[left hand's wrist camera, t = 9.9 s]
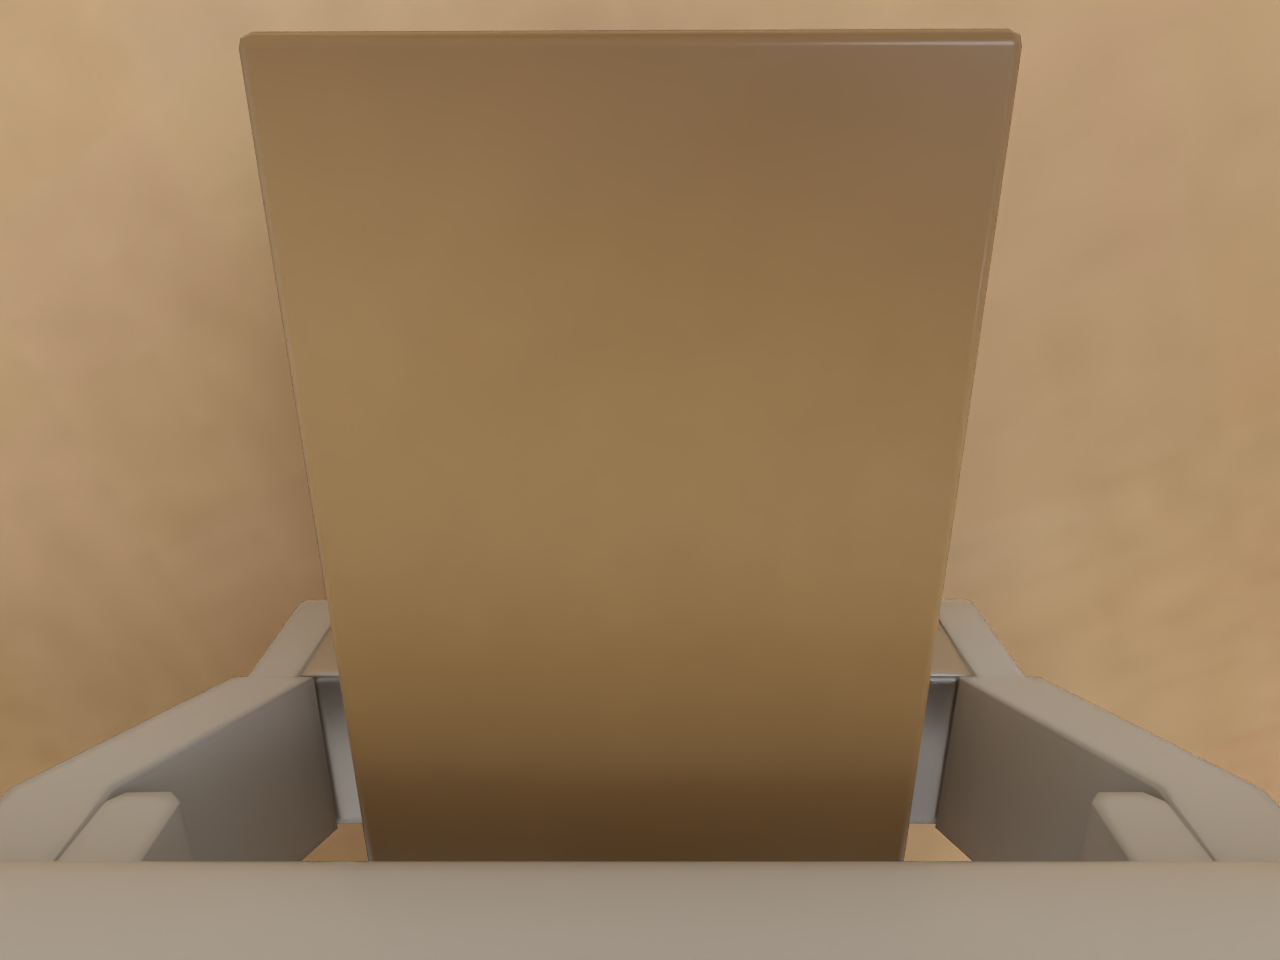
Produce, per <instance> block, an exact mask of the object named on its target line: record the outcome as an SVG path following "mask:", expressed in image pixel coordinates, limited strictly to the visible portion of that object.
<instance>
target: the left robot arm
mask: <svg viewBox="0 0 1280 960" xmlns="http://www.w3.org/2000/svg"><path fill="white" fill-rule="evenodd" d="M348 823H362V818H361V811H360V805H359V799H358V793H357V786H356V780H355V774H354V767H353V761H352V755H351V749H350V742H349V736H348V730H347V724H346V717H345V711H344V705H343V698H342V692H341V686H340V680H339V673H338V667H337V661H336V655H335V648H334V642H333V636H332V629H331V623H330V617H329V611H328V604H327V600H308V601H303V602H302V603H301V604H300V605H299V606H298V607H297V609H296V610H295V612H294V613H293V614H292V616H291V617H290V619H289V620H288V621H287V623H286V624H285V626H284V627H283V628H282V630H281V631H280V633H279V634H278V635H277V637H276V638H275V639H274V641H273V642H272V644H271V645H270V646H269V648H268V649H267V651H266V652H265V653H264V655H263V656H262V658H261V659H260V660H259V662H258V663H257V665H256V666H255V667H254V669H253V670H252V672H251V673H250V674H249V676H248V677H233V678H231V679H229V680H227V681H225V682H223V683H221V684H219V685H217V686H214V687H212V688H210V689H208V690H206V691H204V692H202V693H200V694H198V695H196V696H194V697H192V698H190V699H188V700H186V701H184V702H182V703H180V704H178V705H176V706H174V707H172V708H170V709H168V710H166V711H164V712H162V713H160V714H158V715H156V716H154V717H152V718H150V719H148V720H146V721H144V722H142V723H140V724H138V725H136V726H134V727H132V728H130V729H128V730H126V731H124V732H122V733H120V734H118V735H116V736H114V737H112V738H110V739H108V740H106V741H104V742H102V743H100V744H98V745H96V746H94V747H92V748H90V749H88V750H86V751H84V752H82V753H80V754H78V755H76V756H74V757H72V758H70V759H68V760H66V761H64V762H62V763H60V764H58V765H56V766H54V767H52V768H50V769H48V770H46V771H44V772H41V773H39V774H37V775H35V776H33V777H31V778H29V779H27V780H25V781H23V782H21V783H19V784H17V785H15V786H13V787H11V788H9V789H8V790H7V791H6V792H5V793H4V794H3V796H2V797H1V798H0V960H1280V807H1279V806H1278V805H1277V803H1276V802H1275V801H1274V800H1273V799H1272V798H1271V797H1270V796H1269V795H1268V794H1267V793H1266V792H1265V791H1264V790H1263V789H1261V788H1259V787H1257V786H1255V785H1253V784H1251V783H1249V782H1247V781H1245V780H1243V779H1241V778H1239V777H1237V776H1235V775H1233V774H1231V773H1229V772H1227V771H1225V770H1223V769H1221V768H1219V767H1217V766H1215V765H1213V764H1211V763H1209V762H1207V761H1205V760H1203V759H1201V758H1199V757H1197V756H1195V755H1193V754H1191V753H1189V752H1187V751H1186V750H1184V749H1182V748H1180V747H1178V746H1176V745H1174V744H1172V743H1170V742H1168V741H1166V740H1164V739H1162V738H1160V737H1158V736H1156V735H1154V734H1152V733H1150V732H1148V731H1146V730H1144V729H1142V728H1140V727H1138V726H1136V725H1134V724H1132V723H1130V722H1128V721H1126V720H1124V719H1122V718H1120V717H1118V716H1116V715H1114V714H1112V713H1110V712H1108V711H1106V710H1104V709H1102V708H1100V707H1098V706H1096V705H1094V704H1092V703H1090V702H1088V701H1086V700H1084V699H1082V698H1080V697H1078V696H1076V695H1074V694H1072V693H1070V692H1068V691H1066V690H1064V689H1062V688H1060V687H1058V686H1056V685H1054V684H1052V683H1050V682H1048V681H1046V680H1044V679H1042V678H1040V677H1025V676H1024V674H1023V673H1022V672H1021V670H1020V669H1019V667H1018V666H1017V665H1016V663H1015V662H1014V660H1013V659H1012V658H1011V656H1010V655H1009V653H1008V652H1007V651H1006V649H1005V648H1004V646H1003V645H1002V644H1001V642H1000V641H999V639H998V638H997V637H996V635H995V634H994V632H993V631H992V630H991V628H990V627H989V625H988V624H987V623H986V621H985V620H984V618H983V617H982V615H981V614H980V613H979V611H978V610H977V608H976V607H975V606H974V604H973V603H972V602H970V601H968V600H966V599H952V600H941V607H940V614H939V621H938V628H937V635H936V642H935V649H934V656H933V663H932V669H931V676H930V683H929V690H928V697H927V704H926V711H925V718H924V725H923V732H922V738H921V745H920V752H919V759H918V766H917V773H916V780H915V787H914V794H913V801H912V807H911V814H910V821H909V823H925V824H936V828H937V829H938V830H939V831H940V832H941V833H942V834H943V835H944V836H946V837H947V838H948V839H949V840H950V841H951V842H952V843H953V844H954V845H955V846H957V847H958V848H959V849H960V850H961V851H962V852H963V853H964V854H965V855H966V856H967V857H969V858H970V859H971V860H972V861H302V860H303V859H304V858H305V857H306V856H307V855H308V854H309V853H311V852H312V851H313V850H314V849H315V848H316V847H317V846H318V845H319V844H320V843H322V842H323V841H324V840H325V839H326V838H327V837H328V836H329V835H330V834H332V833H333V832H334V831H335V830H336V829H337V828H338V827H337V824H348Z"/></svg>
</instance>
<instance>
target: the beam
mask: <svg viewBox="0 0 1280 960" xmlns="http://www.w3.org/2000/svg"><path fill="white" fill-rule="evenodd" d="M1021 48H1022V45H1021V38H1020V35H1019V34H1018V33H1016V32H1014V31H1012V30H1010V29H833V30H591V31H350V32H251V33H249V34H247V35H245V36H243V37H242V38H241V39H240V46H239V52H240V58H241V65H242V71H243V77H244V84H245V90H246V96H247V102H248V109H249V115H250V121H251V127H252V134H253V140H254V146H255V153H256V159H257V165H258V171H259V178H260V184H261V190H262V196H263V203H264V209H265V215H266V222H267V228H268V234H269V240H270V247H271V253H272V259H273V265H274V272H275V278H276V284H277V291H278V297H279V303H280V309H281V316H282V322H283V328H284V335H285V341H286V347H287V353H288V360H289V366H290V372H291V378H292V385H293V391H294V397H295V404H296V410H297V416H298V422H299V429H300V435H301V441H302V447H303V454H304V460H305V466H306V473H307V479H308V485H309V491H310V498H311V504H312V510H313V516H314V523H315V529H316V535H317V542H318V548H319V554H320V560H321V567H322V573H323V579H324V586H325V592H326V598H327V604H328V611H329V617H330V623H331V629H332V636H333V642H334V648H335V655H336V661H337V667H338V673H339V680H340V686H341V692H342V698H343V705H344V711H345V717H346V724H347V730H348V736H349V742H350V749H351V755H352V761H353V767H354V774H355V780H356V786H357V793H358V799H359V805H360V811H361V818H362V824H363V830H364V837H365V843H366V849H367V855H368V861H904V856H905V849H906V842H907V835H908V828H909V821H910V814H911V807H912V801H913V794H914V787H915V780H916V773H917V766H918V759H919V752H920V745H921V738H922V732H923V725H924V718H925V711H926V704H927V697H928V690H929V683H930V676H931V669H932V663H933V656H934V649H935V642H936V635H937V628H938V621H939V614H940V607H941V600H942V594H943V587H944V580H945V573H946V566H947V559H948V552H949V545H950V538H951V531H952V525H953V518H954V511H955V504H956V497H957V490H958V483H959V476H960V469H961V462H962V456H963V449H964V442H965V435H966V428H967V421H968V414H969V407H970V400H971V393H972V387H973V380H974V373H975V366H976V359H977V352H978V345H979V338H980V331H981V324H982V318H983V311H984V304H985V297H986V290H987V283H988V276H989V269H990V262H991V255H992V249H993V242H994V235H995V228H996V221H997V214H998V207H999V200H1000V193H1001V186H1002V180H1003V173H1004V166H1005V159H1006V152H1007V145H1008V138H1009V131H1010V124H1011V117H1012V111H1013V104H1014V97H1015V90H1016V83H1017V76H1018V69H1019V62H1020V55H1021Z"/></svg>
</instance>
